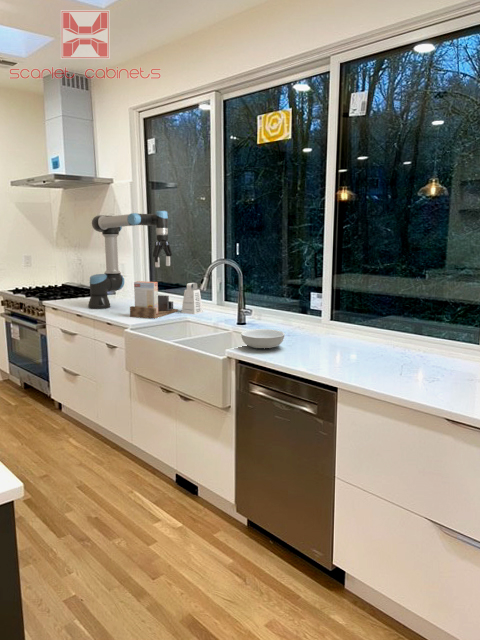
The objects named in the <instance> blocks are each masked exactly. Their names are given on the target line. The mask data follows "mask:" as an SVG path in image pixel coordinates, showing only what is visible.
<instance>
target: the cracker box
mask: <svg viewBox="0 0 480 640" xmlns="http://www.w3.org/2000/svg"><path fill="white" fill-rule="evenodd" d="M158 283H159V282H158V281H143V280H141V281H140V280H138V281H134V282H133V285H134V286H133V289H134V290H133V293H134V306H135V307H148V308H156V314H158V295H159V287H158V285H159V284H158Z"/></svg>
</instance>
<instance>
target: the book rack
mask: <svg viewBox="0 0 480 640" xmlns="http://www.w3.org/2000/svg"><path fill="white" fill-rule="evenodd" d="M177 312H179V309H178V308H173V309H172V310H169V311H161V310H158V314H156V308H148V307H135V305H134V306H129V317H130V318H139V317H140V318H143V319H151V318H154V319H153V320H156V319H158V317H159V318H161V317H165V316H168V315H171V314H174V313H177ZM140 318H139V319H140ZM155 318H156V319H155Z"/></svg>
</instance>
